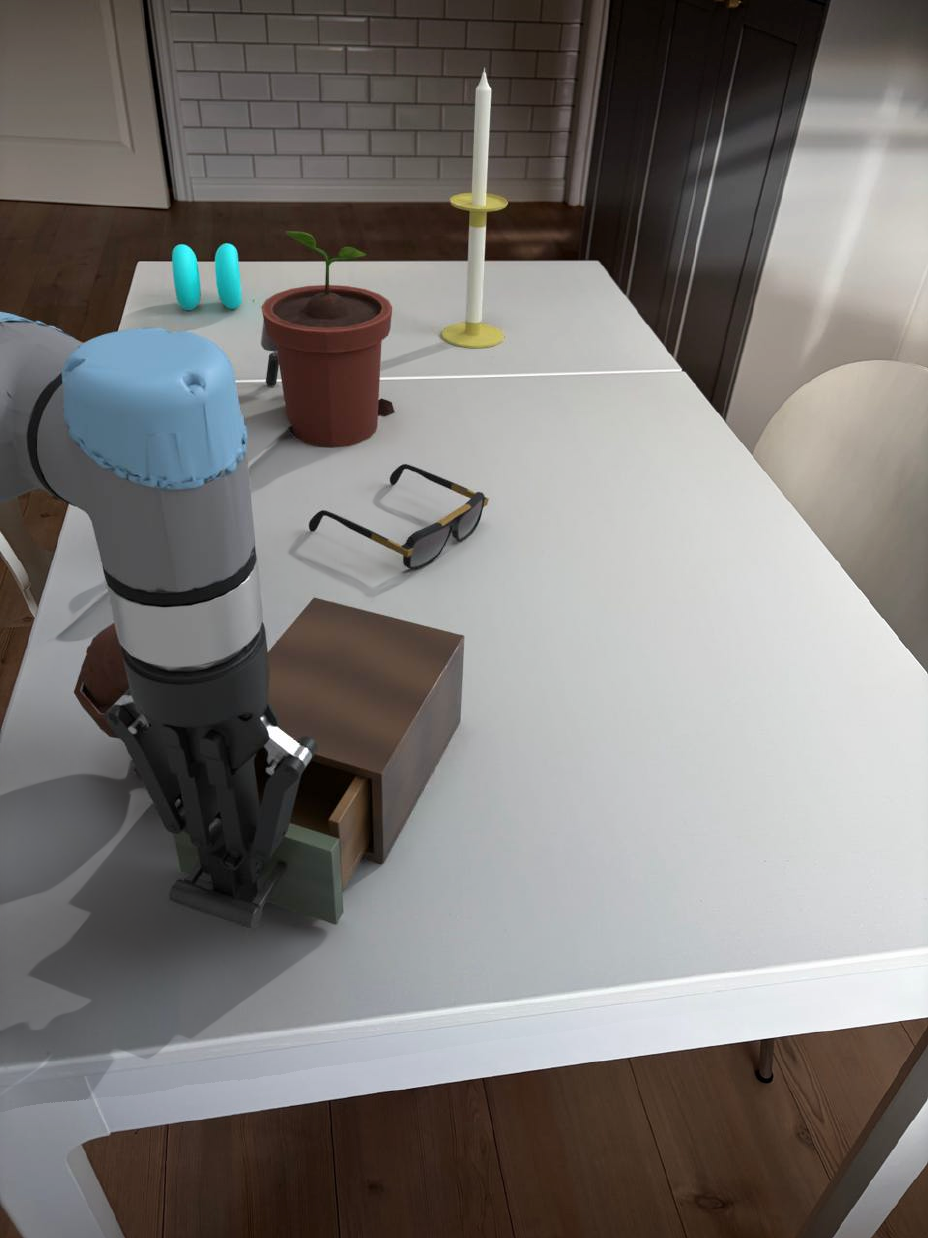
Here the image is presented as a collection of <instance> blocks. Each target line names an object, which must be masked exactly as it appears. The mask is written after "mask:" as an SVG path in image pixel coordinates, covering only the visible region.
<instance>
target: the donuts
mask: <svg viewBox="0 0 928 1238" xmlns="http://www.w3.org/2000/svg"><path fill="white" fill-rule="evenodd" d="M171 258H172V259H171V264H172V276H173V285H174V292H175V296H176V301H177V303H178V305H179V307H180V308H181V309H182V310H185V311H193V310H194V309H195V308H197V306H198V305H199V303H200V300H201V296H202V295H201V291H202V290H201V289H202V288H201V279H200V278H201V275H200V270H199V262H198V259H197V256H196V253H195V252H194V251H193V249H192V248H191V247H190V246H188V245H186V244H182V243H181V244H177V245H175V247H174V248H173V249H172V252H171ZM214 267H215V268H214V270H215V280H216V289H217V294H218V297H219V299H220V302H221V303H222V304H223V305H224V307H226V308H228V309H230V310H236V309H238V308H239V307H240V306H241V304H242V301H243V298H242V284H241V272H240V262H239V253H238V250H237V248H236V247H235V246H234V245H233V244H231V243H227V242H226V243H222V244H221V245H220V246H219V247H218V248H217V250H216V252H215V256H214Z"/></svg>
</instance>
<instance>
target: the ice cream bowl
mask: <svg viewBox="0 0 928 1238" xmlns="http://www.w3.org/2000/svg"><path fill="white" fill-rule="evenodd" d="M91 639H92V640H91V641H90V644H89V645H88V646H87V647H86V652H85V653H86V655H85V657H84V660H83V662H82V665H81V669H80V671H79V675H78V677H77V681H76V684H75V687H74V690H73V694H74V695H75V697H76V699H77V701H78V703H79V704H80V706H81V707H82V709H83V710H84V711H85V713H87V714H88V715H89V717H90V718H91V719H92V720H93V722H94V723H95V724H96V726H97V727H98V728H99V729H100V730H101V731H103V733H104V734H106V735H107V736H108V737H109V738H115V739H119V740H121V739H120V738H119V737H118V736H117V734H116V733H115V732H114V731H113V730H112V728H111V727H110V726H109V725H108V724H107V722H106V721H105V719H104V714H105V713H106V712H107V711H108V710H109V709H110V708H111V707H112V706H113V705H114V704H115V703H116V702H117V701H118V700H119V699H120V697H121V696H122V695H123V694H124V693H125V692H126V691H127V690H128V689H129V684H128V679H127V675H126V670H125V666H124V661H123V657H122V651H121V645H120V643H119V640H118V636H117V633H116V628H115V623H114V622H113V623H111V624H110V625H108V626H107V627H105V628H104V629H102V630H101V631H100V632H99V633H97V634H96V635H95V636H93V638H91ZM133 773H135V775H136V776H137V777H138V778H139V780H140V781H141V782H142V783H143V781H142V779H141V777H140V775H139V773H138V771H137V769H136V767H135V765H134V767H133Z"/></svg>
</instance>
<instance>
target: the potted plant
mask: <svg viewBox="0 0 928 1238" xmlns="http://www.w3.org/2000/svg"><path fill="white" fill-rule="evenodd" d="M285 233H286V235H287V236H289V237H290V238H292V239H294V240H295V241H297V242H299V243H301V245H303V246H305V247H306V248H308V249H310V250H312V251H315V252H317V253H318V254H320V255H321V256H322V257H323V259H324V261H325V282H324V284H317V285H305V286H298V287H294V288H289V289H285V290H283V291H279V292H276V293H275V294H272V295H271V296H270V297H267V298H266V299H264V302H263V303H262V305H261V307H260V308H261V312H262V317H263V321H262V329H261V337H260V339H261V340H260V346H261V347H262V349H263V350H264V351H267V352H271V353H269V355H268V359H267V369H266V376H265V384H266V385H267V386H268V387H275V386H276V385H277V381H278V376H279V375H278V374H279V373H280V380H281V387H282V393H283V398H284V406H285V407H284V408H285V413H286V419H287V422H288V423H289V424H290V425H289V427H288V430H289V434H290V435H291V436H292V437H293V438H294V439H296V440H298V441H300V442H302V443H304V444H307V445H311V446H315V447H316V446H317V447H325V448H327V447H328V448H337V447H348V446H351V445H355V444H360V443H362V442H363V441H366V440H368V439H370V438H371V437H372V436H373V435H374V434H375V433H376V431H377V428H378V422H379V421H378V420H379V415H380V416H388V415H391V414H393V413H395V409H394V406H393V405H394V404H393V402H392V401H389V400H388V399H384V398H380V399H379V397H380V382H381V381H380V378H381V360H382V342H383V341H384V340H385V339H387V337H388V336H389V334H390V330H391V328H392V327H391V326H392V318H393V317H392V315H393V306H392V304H391V302H390V300H389V299H388V298H386V297H384V296H383V295H381V294H380V293H378V292H375V291H372V290H370V289H366V288H362V287H355V286H351V285H350V286H349V285H339V284H330V266H331V264H332V263H334V262H337V261H344V260H352V259H356V258H361V257H365V256H367V253H366V252H363V251H360V250H359V249H357V248H355V247H352V246H344V247H343V248H341V249H339V251H338V257H334V258H331V259H329V256H328V255H327V253H326V252H325V251H324V250H322V249H320V248H318V247H316V246H317V241H316V239H315V238H314V237H313V235H312V234H310V233H307V232H304V231H294V230H293V231H290V230H289V231H285Z"/></svg>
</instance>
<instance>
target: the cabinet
mask: <svg viewBox="0 0 928 1238" xmlns="http://www.w3.org/2000/svg"><path fill="white" fill-rule="evenodd" d="M464 655H465V635H463V634H459V633H456V632H452V631H449V630H448V631H447V630H444V629H439V628H435V627H433V626H428V625H424V624H419V623H415V622H412V621H408V620H404V619H401V618H396V617H392V616H390V615H389V616H388V615H384V614H381V613H377V612H373V611H370V610H366V609H361V608H357V607H354V606H349V605H345V604H342V603H338V602H334V601H330V600H326V599H323V598H319V597H316V596H315V597H313V598H312V599H311V601H309V603H308V604H307V605H306V606H305V607H304V609H303V610H302V611H301V612H300V613H299V615H298V616H297V617H296V618H295V619H294V620H293V622H292V623H291V624H290V625H289V626H288V627H287V629H286V630H285V631H284V632H283V634H282V635H280V637H279V638H278V640H277V641H276V642H275V643H274V644H273V645H272V647H271V648H270V649H269V650H268V659H269V668H270V680H269V690H268V699H269V702H270V704H271V706H272V707H273V709H274V710H275V712H276V713H277V716H278V720H279V723H278V728H279V729H281V730H282V731H283V732H284V733H286V734H287V735H288V736H290V737H291V738H292V739H293V740H295V741H296V742H297V741H298V740H299V739H300V738H301V737H310V738H312V739H313V740H314V741H315V742H316V743H317V745H318V750H317V751H316V753H315V754H314V756H313V757H312V759H311V761H314V762H317V763H321V764H324V765H327V766H330V767H334V768H337V769H340V770H344V771H347V772H350V773H354V774H357V775H360V776H364V777H367V778H370V779H372V805H373V839H372V841H371V842H370V844H369V846H368V848H367V849H366V851H365V853H364V855H363V857H362V858H364V859H367V860H369V861H373V862H376V863H378V864H379V863H380V864H382V865H383V864H385V863H386V860H387V858H388V856H389V855H390V853H391V851H392V849H393V847H394V846H395V843H396V842H397V840H398V839H399V836H400V834H401V832H402V831H403V829H404V828H405V825H406V823H407V821H408V820H409V818H410V816H411V814H412V812H413V810H414V808H416V805H417V803H418V801H419V800H420V797H421V795H422V794H423V792H424V790H425V788H426V787H427V784H428V783H429V781H430V780H431V777H432V776H433V773H434V772H435V770H436V768H437V767H438V764H439V762H440V761H441V758H442V757H443V756H444V753H445V751H446V749H447V747H448V745H449V744H450V742H451V740H452V738H453V737H454V735H455V733H456V731H457V729H458V727H459V726H460V723H461V719H462V698H463V678H464V677H463V676H464V657H465V656H464Z"/></svg>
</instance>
